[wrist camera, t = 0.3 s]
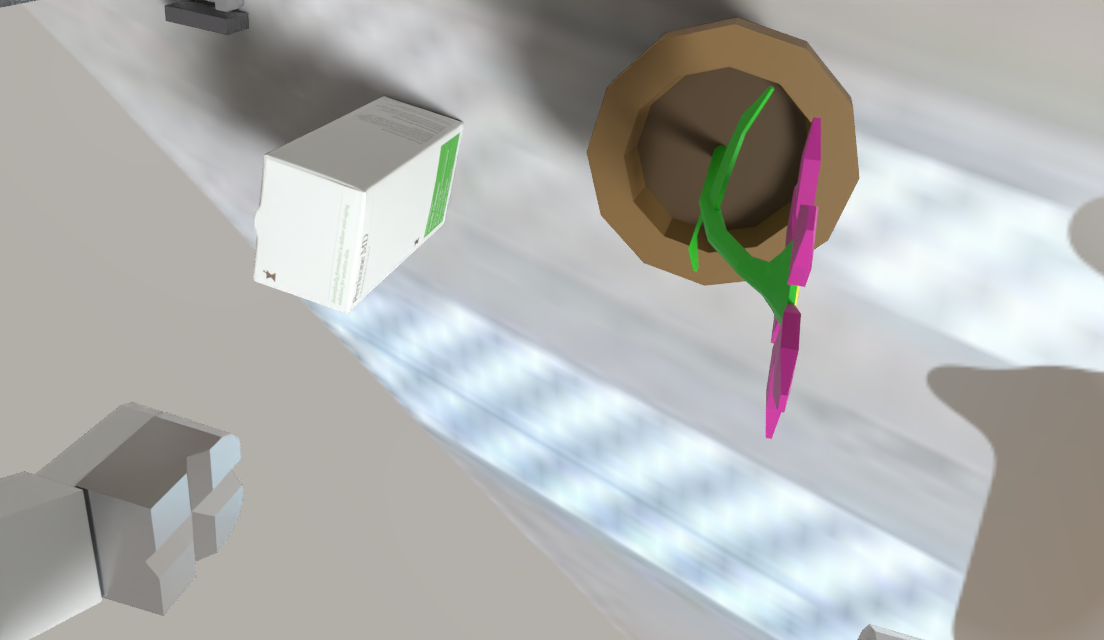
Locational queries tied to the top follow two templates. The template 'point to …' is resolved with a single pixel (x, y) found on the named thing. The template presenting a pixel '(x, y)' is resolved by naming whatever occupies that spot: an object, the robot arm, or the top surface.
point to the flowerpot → (729, 166)
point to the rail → (209, 15)
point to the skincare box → (353, 201)
